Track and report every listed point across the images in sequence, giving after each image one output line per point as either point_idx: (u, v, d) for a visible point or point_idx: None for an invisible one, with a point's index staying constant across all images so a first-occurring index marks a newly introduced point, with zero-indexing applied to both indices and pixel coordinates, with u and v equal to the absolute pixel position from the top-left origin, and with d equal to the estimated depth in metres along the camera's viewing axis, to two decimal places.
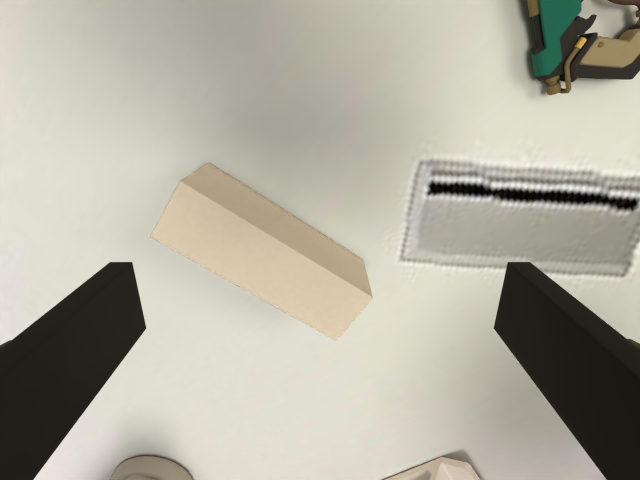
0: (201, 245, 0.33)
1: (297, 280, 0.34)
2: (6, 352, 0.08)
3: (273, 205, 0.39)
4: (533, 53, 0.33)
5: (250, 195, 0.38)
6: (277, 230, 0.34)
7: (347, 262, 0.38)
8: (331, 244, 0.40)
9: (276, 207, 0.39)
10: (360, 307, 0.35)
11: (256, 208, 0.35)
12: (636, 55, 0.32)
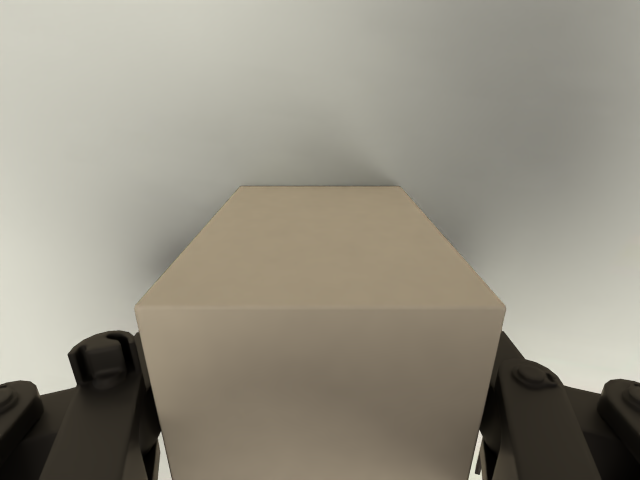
0: None
1: None
2: None
3: None
4: None
5: None
6: None
7: None
8: None
9: None
10: None
11: None
12: None
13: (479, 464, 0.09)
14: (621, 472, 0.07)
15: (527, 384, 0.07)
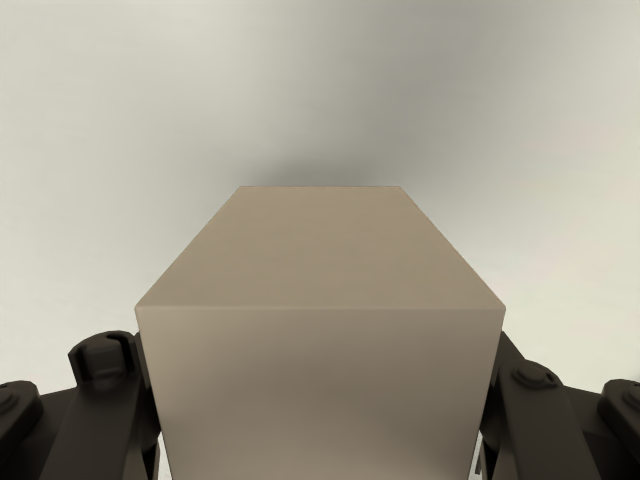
0: None
1: None
2: None
3: None
4: None
5: None
6: None
7: None
8: None
9: None
10: None
11: None
12: None
13: (479, 464, 0.09)
14: (621, 472, 0.07)
15: (527, 385, 0.07)
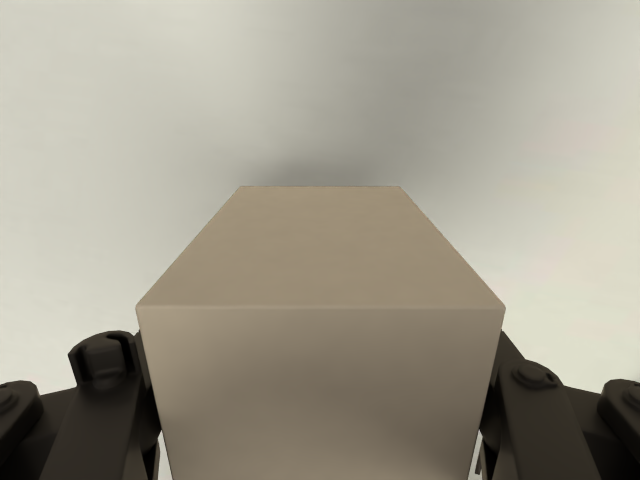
0: None
1: None
2: None
3: None
4: None
5: None
6: None
7: None
8: None
9: None
10: None
11: None
12: None
13: (479, 464, 0.09)
14: (621, 472, 0.07)
15: (527, 384, 0.07)
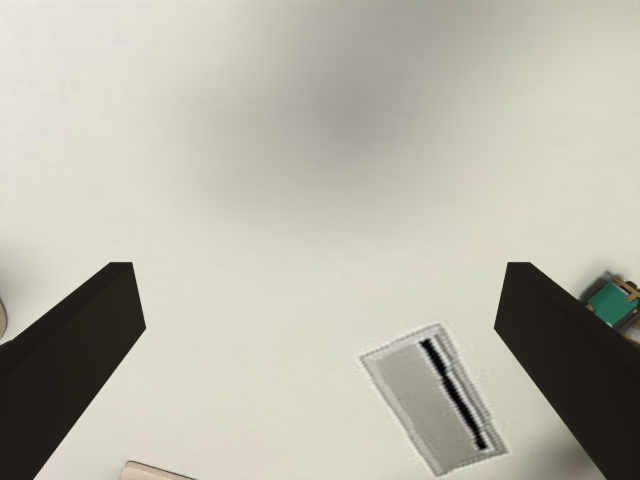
0: None
1: None
2: (6, 352, 0.08)
3: None
4: None
5: None
6: None
7: None
8: None
9: None
10: None
11: None
12: None
13: None
14: None
15: None
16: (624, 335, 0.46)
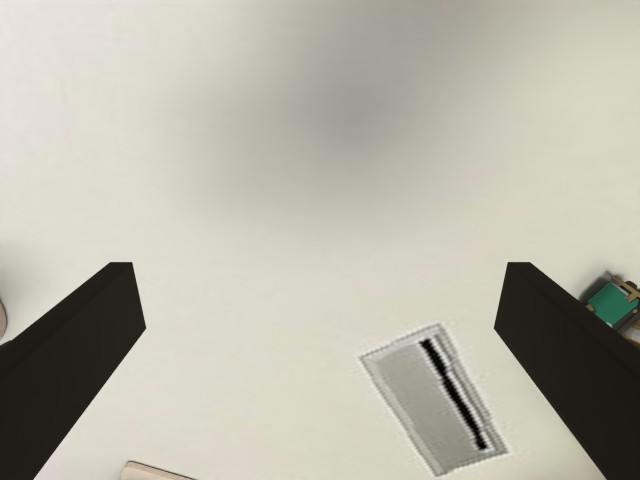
0: None
1: None
2: (6, 352, 0.08)
3: None
4: None
5: None
6: None
7: None
8: None
9: None
10: None
11: None
12: None
13: None
14: None
15: None
16: (624, 335, 0.46)
